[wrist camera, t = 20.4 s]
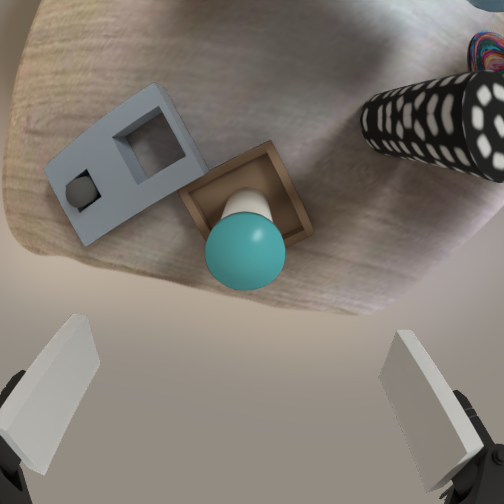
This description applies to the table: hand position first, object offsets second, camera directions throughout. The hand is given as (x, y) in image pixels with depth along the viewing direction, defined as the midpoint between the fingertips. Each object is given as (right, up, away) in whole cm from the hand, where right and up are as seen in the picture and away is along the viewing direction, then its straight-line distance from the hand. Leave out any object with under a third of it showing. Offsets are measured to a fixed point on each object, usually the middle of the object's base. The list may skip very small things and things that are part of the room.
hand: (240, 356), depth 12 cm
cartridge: (0, +10, +24) cm, 26 cm away
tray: (0, +10, +25) cm, 27 cm away
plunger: (-20, +12, +23) cm, 33 cm away
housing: (-15, +15, +23) cm, 31 cm away
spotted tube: (+18, +20, +21) cm, 34 cm away
